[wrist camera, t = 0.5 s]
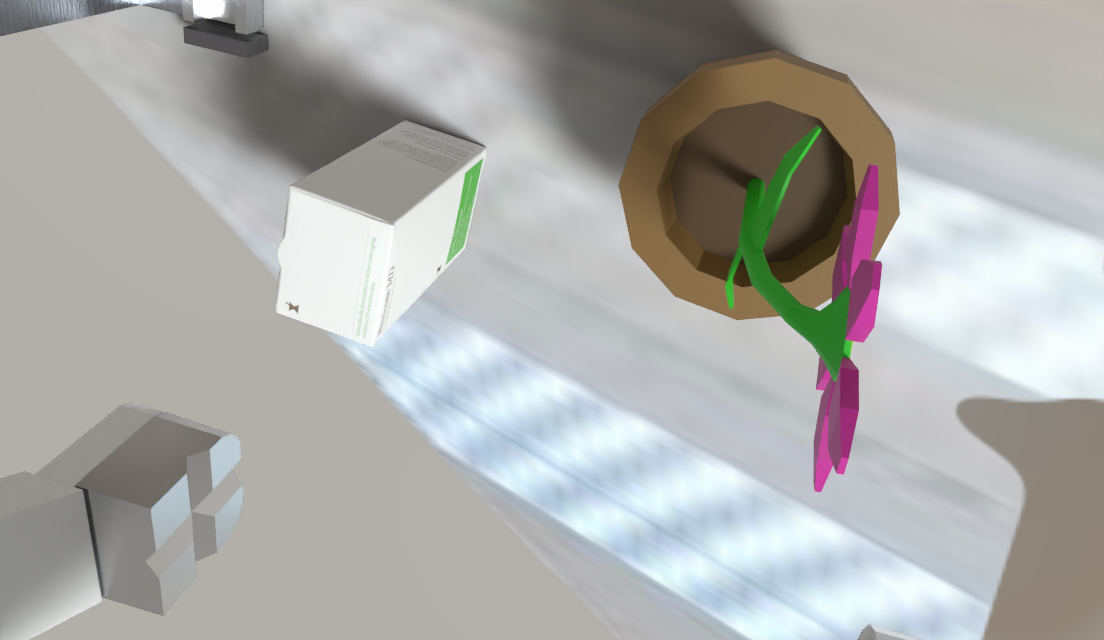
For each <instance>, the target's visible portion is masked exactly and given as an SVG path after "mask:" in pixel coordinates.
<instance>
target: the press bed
mask: <svg viewBox="0 0 1104 640" xmlns="http://www.w3.org/2000/svg"><path fill="white" fill-rule="evenodd" d="M137 5H144V6H148V7H152V8H157V9H161V10H165V11H169V12H174V13H178V14H182V15H183V11H182V0H0V36H4V35H8V34H12V33H17V32H21V31H26V30H30V29H35V28H39V27H44V26H48V25H52V24H57V23H61V22H66V21H70V20H75V19H79V18H84V17H88V16H92V15H97V14H101V13H106V12H110V11H115V10H119V9H124V8H128V7H132V6H137Z"/></svg>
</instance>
